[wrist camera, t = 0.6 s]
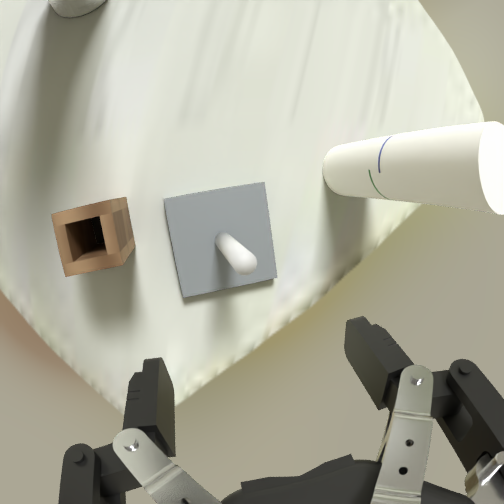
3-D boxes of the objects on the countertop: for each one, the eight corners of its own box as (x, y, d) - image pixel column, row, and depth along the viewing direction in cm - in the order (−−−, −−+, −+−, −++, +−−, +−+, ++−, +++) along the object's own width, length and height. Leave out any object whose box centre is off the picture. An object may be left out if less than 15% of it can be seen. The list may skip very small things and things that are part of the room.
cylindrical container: (366, 147, 41) (518, 132, 17) (366, 196, 43) (518, 216, 19) (322, 142, 40) (475, 110, 16) (322, 195, 41) (477, 212, 17)
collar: (90, 255, 35) (65, 277, 26) (80, 207, 34) (51, 214, 24) (135, 245, 37) (122, 265, 27) (126, 196, 35) (109, 199, 26)
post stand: (182, 293, 39) (188, 343, 26) (164, 198, 36) (158, 204, 23) (273, 274, 42) (317, 312, 29) (261, 182, 39) (304, 180, 26)
